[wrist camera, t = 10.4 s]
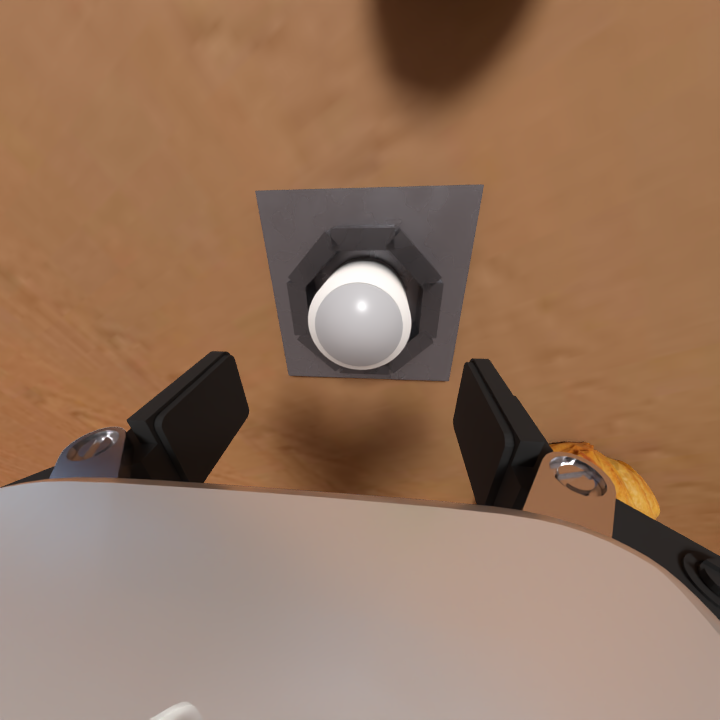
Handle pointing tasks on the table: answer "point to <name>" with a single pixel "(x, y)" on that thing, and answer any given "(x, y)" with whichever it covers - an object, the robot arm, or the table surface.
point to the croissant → (617, 477)
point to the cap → (361, 315)
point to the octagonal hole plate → (379, 241)
